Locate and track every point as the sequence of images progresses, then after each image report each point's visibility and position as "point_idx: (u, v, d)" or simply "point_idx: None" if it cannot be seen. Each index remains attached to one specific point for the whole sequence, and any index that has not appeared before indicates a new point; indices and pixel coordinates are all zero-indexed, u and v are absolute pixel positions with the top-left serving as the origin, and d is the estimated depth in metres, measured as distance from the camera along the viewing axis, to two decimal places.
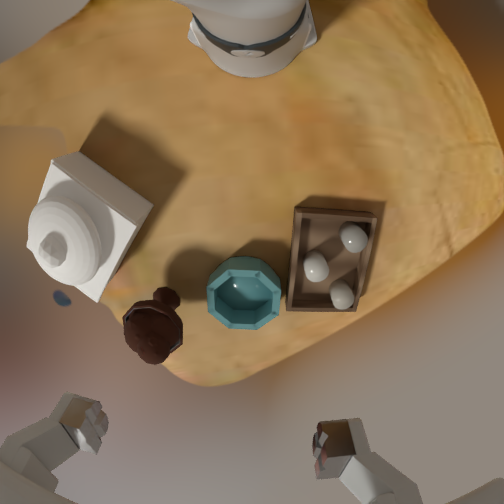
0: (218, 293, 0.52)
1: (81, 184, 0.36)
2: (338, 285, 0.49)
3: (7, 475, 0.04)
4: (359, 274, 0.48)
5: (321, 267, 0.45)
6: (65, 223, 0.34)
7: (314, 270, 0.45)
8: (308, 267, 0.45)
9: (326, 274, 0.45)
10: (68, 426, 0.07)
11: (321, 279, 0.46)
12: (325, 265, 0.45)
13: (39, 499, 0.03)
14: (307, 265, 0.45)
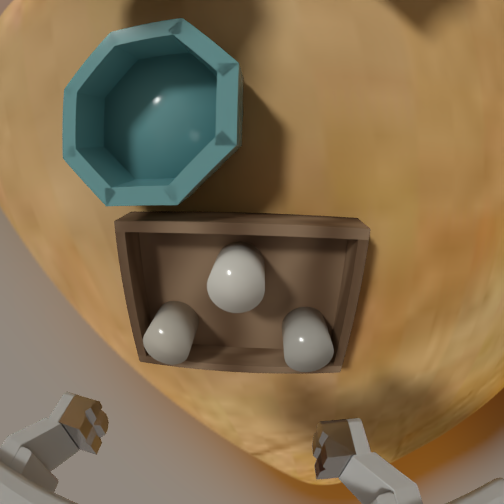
0: (146, 59, 0.17)
1: None
2: (191, 326, 0.23)
3: (7, 475, 0.04)
4: (220, 358, 0.24)
5: (247, 296, 0.19)
6: None
7: (239, 281, 0.19)
8: (248, 268, 0.18)
9: (229, 308, 0.20)
10: (68, 426, 0.07)
11: (215, 299, 0.19)
12: (253, 304, 0.19)
13: (39, 499, 0.03)
14: (249, 262, 0.19)
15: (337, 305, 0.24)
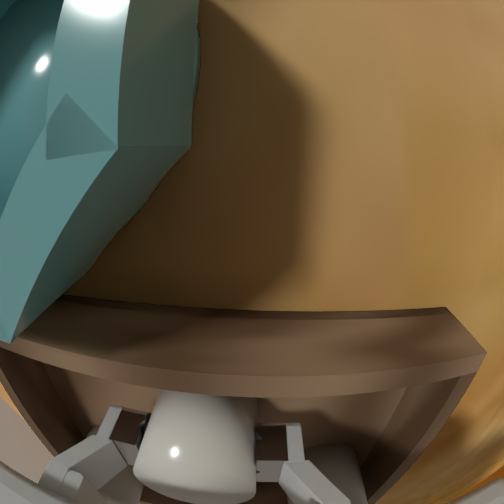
0: None
1: None
2: None
3: (7, 475, 0.04)
4: None
5: (220, 495, 0.07)
6: None
7: (198, 482, 0.06)
8: (215, 472, 0.06)
9: (187, 500, 0.07)
10: (121, 442, 0.07)
11: (156, 489, 0.07)
12: (233, 501, 0.07)
13: (39, 499, 0.03)
14: (217, 457, 0.06)
15: (380, 436, 0.11)
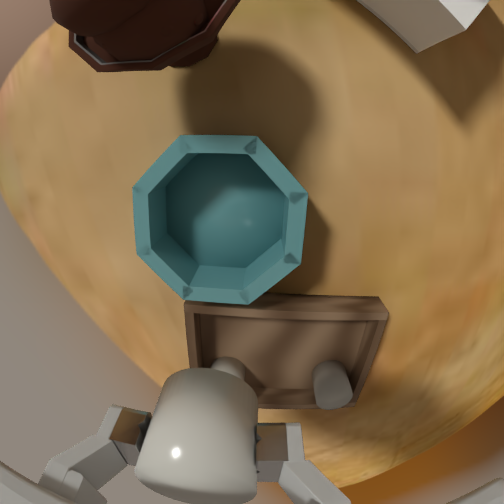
0: (208, 153, 0.22)
1: None
2: (243, 378, 0.27)
3: (7, 475, 0.04)
4: (262, 398, 0.29)
5: (221, 496, 0.07)
6: None
7: (199, 483, 0.06)
8: (216, 473, 0.06)
9: (188, 501, 0.07)
10: (121, 442, 0.07)
11: (158, 490, 0.07)
12: (233, 502, 0.07)
13: (39, 499, 0.03)
14: (218, 458, 0.06)
15: (355, 358, 0.29)
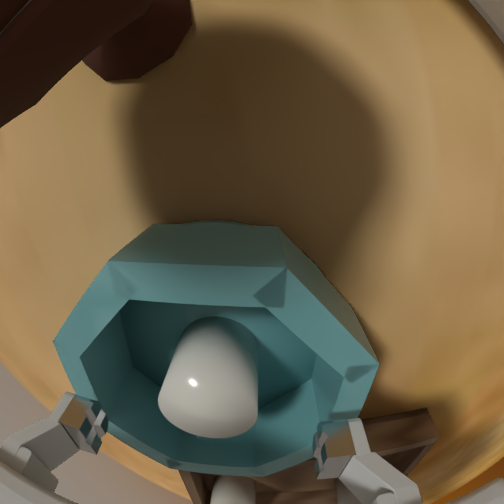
0: None
1: None
2: (254, 498, 0.17)
3: (7, 475, 0.04)
4: None
5: (228, 422, 0.10)
6: None
7: (212, 404, 0.09)
8: (226, 388, 0.09)
9: (199, 432, 0.10)
10: (68, 426, 0.07)
11: (175, 421, 0.10)
12: (238, 430, 0.10)
13: (39, 499, 0.03)
14: (228, 376, 0.09)
15: None
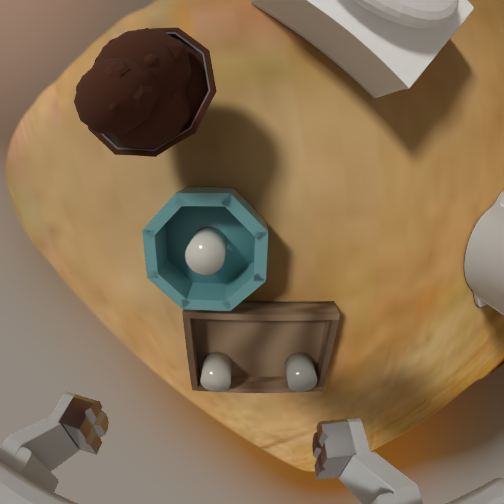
0: None
1: None
2: (229, 367, 0.35)
3: (7, 475, 0.04)
4: (246, 385, 0.37)
5: (213, 262, 0.28)
6: None
7: (206, 251, 0.27)
8: (212, 242, 0.27)
9: (200, 271, 0.28)
10: (68, 426, 0.07)
11: (191, 264, 0.28)
12: (217, 267, 0.28)
13: (39, 499, 0.03)
14: (213, 238, 0.27)
15: (319, 350, 0.37)
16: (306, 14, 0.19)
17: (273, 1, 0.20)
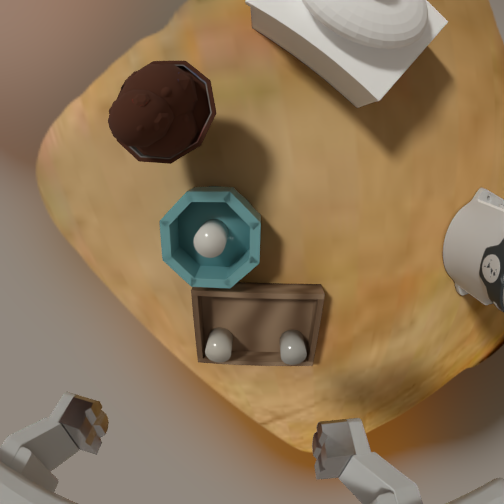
0: None
1: (425, 46, 0.22)
2: (230, 341, 0.42)
3: (7, 475, 0.04)
4: (245, 358, 0.43)
5: (216, 247, 0.34)
6: (408, 16, 0.17)
7: (210, 238, 0.34)
8: (215, 230, 0.34)
9: (206, 255, 0.35)
10: (68, 426, 0.07)
11: (198, 249, 0.35)
12: (219, 252, 0.35)
13: (39, 499, 0.03)
14: (216, 227, 0.34)
15: (310, 328, 0.43)
16: (295, 39, 0.25)
17: (269, 27, 0.26)
